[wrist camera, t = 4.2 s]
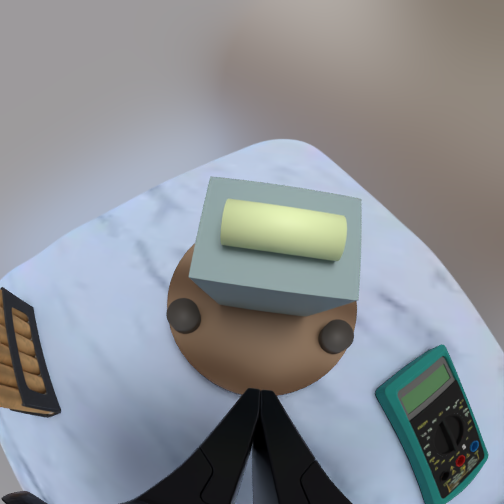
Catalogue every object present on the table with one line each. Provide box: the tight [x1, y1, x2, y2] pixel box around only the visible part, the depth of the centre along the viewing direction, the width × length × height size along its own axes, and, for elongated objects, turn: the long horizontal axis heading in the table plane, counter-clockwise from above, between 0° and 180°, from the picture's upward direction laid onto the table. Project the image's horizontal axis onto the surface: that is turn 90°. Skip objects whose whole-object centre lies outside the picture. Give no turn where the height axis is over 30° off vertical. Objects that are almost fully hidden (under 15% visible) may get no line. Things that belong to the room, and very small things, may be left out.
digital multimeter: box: [376, 345, 488, 504], centre depth 16 cm, size 7×15×3 cm, turn 23°
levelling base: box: [167, 244, 357, 396], centre depth 20 cm, size 14×14×6 cm
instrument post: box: [189, 177, 361, 317], centre depth 14 cm, size 4×6×11 cm, turn 82°
